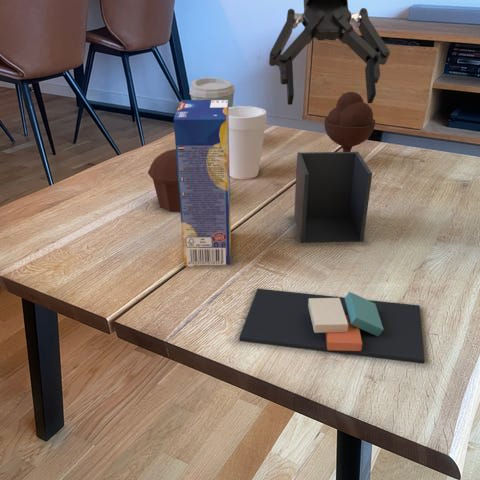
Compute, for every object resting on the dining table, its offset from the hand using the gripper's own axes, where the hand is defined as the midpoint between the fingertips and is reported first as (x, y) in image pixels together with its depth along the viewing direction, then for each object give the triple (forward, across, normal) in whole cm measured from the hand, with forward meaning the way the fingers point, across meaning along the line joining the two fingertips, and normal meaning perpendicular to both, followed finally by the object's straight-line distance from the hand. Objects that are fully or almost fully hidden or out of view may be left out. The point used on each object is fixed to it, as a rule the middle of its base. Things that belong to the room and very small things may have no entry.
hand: (331, 99), depth 93 cm
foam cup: (+1, +14, -26) cm, 30 cm away
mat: (+41, +4, +14) cm, 43 cm away
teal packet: (+40, 0, +16) cm, 43 cm away
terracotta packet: (+42, +4, +18) cm, 46 cm away
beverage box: (+26, +21, -2) cm, 33 cm away
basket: (+21, +1, -6) cm, 22 cm away
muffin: (+12, +26, -15) cm, 33 cm away
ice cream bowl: (-3, -9, -31) cm, 32 cm away
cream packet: (+40, +6, +17) cm, 43 cm away
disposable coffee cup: (-14, +21, -41) cm, 48 cm away
